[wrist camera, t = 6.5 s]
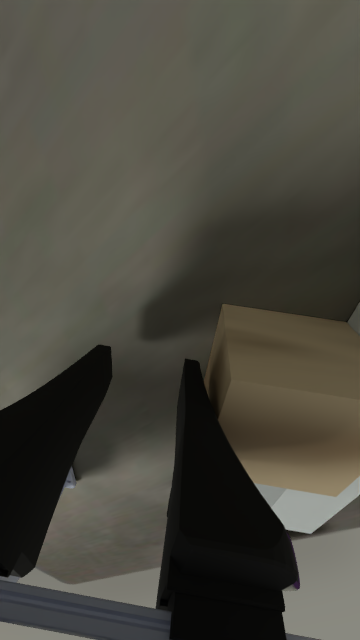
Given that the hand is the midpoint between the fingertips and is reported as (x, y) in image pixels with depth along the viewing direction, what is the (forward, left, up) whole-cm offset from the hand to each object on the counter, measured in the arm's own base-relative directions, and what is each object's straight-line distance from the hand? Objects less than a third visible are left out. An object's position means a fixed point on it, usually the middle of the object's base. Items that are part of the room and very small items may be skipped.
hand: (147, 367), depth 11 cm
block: (0, -6, -2) cm, 6 cm away
